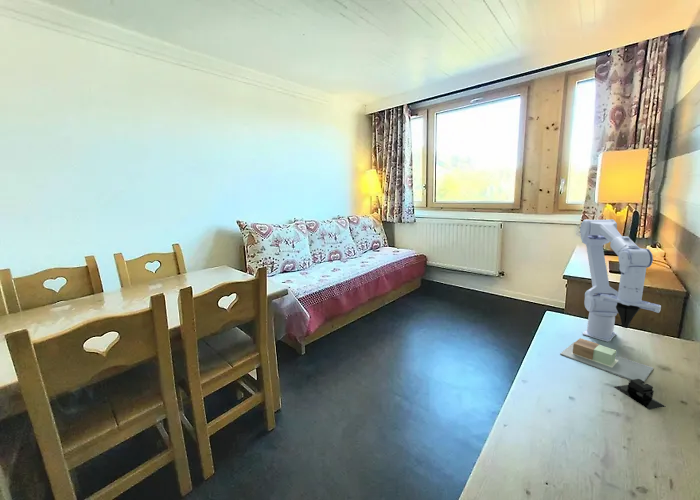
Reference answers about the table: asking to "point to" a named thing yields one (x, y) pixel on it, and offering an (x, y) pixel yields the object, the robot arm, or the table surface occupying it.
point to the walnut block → (584, 348)
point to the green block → (604, 355)
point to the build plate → (614, 365)
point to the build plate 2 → (640, 393)
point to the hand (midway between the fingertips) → (625, 326)
